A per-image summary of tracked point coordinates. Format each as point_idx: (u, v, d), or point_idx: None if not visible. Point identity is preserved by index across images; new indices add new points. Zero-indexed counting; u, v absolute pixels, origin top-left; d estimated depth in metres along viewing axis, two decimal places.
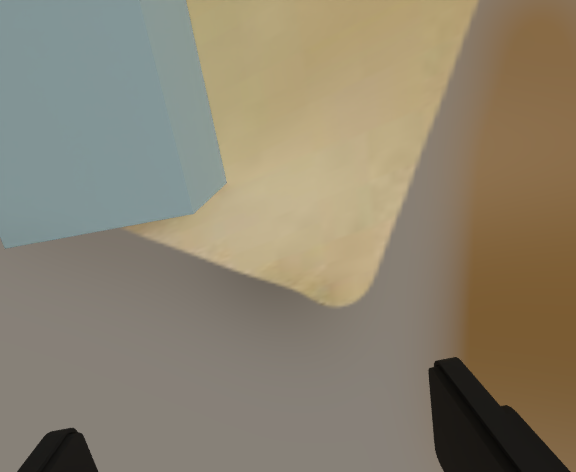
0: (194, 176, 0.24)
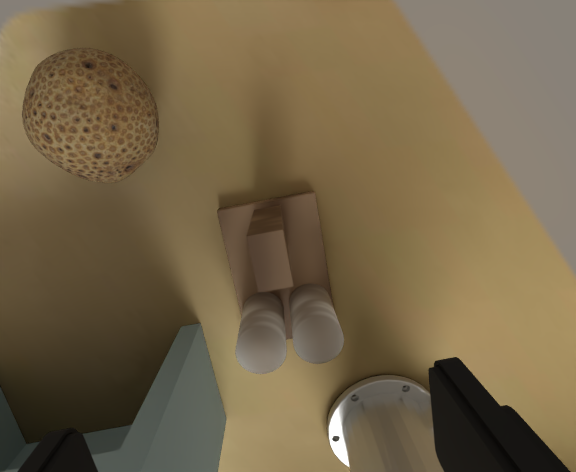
0: None
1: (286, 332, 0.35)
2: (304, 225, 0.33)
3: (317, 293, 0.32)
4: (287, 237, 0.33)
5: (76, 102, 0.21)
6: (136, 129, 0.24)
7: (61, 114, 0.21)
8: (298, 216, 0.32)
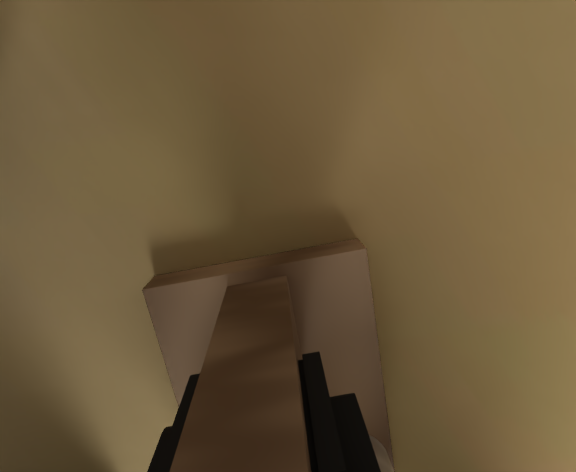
0: None
1: None
2: (340, 318, 0.15)
3: None
4: (302, 343, 0.15)
5: None
6: None
7: None
8: (327, 298, 0.14)
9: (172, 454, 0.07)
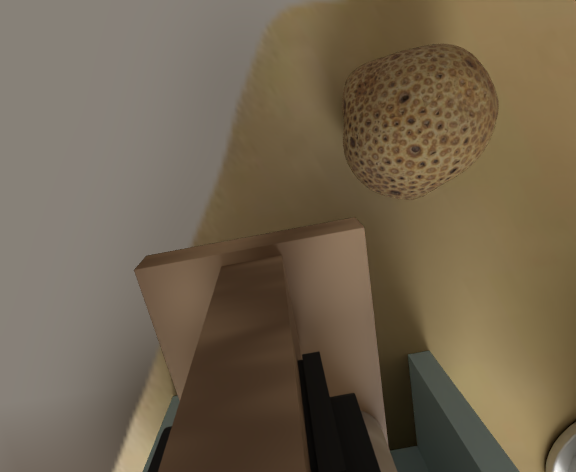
0: None
1: None
2: (336, 297, 0.14)
3: None
4: (298, 322, 0.15)
5: (465, 107, 0.18)
6: (489, 139, 0.20)
7: (450, 123, 0.18)
8: (323, 278, 0.14)
9: None
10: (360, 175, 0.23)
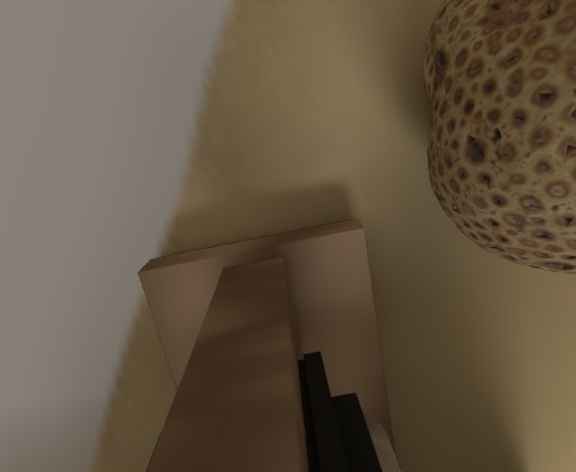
0: None
1: None
2: (338, 299, 0.14)
3: None
4: (300, 324, 0.15)
5: None
6: None
7: None
8: (324, 279, 0.14)
9: None
10: (475, 224, 0.10)
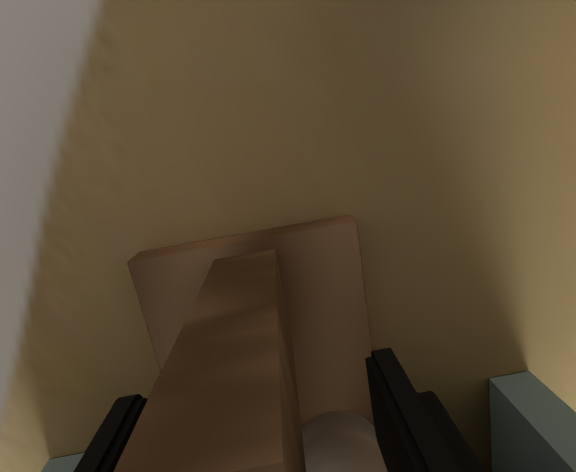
0: None
1: None
2: (329, 293, 0.14)
3: (361, 454, 0.14)
4: (291, 319, 0.15)
5: None
6: None
7: None
8: (316, 273, 0.14)
9: None
10: None
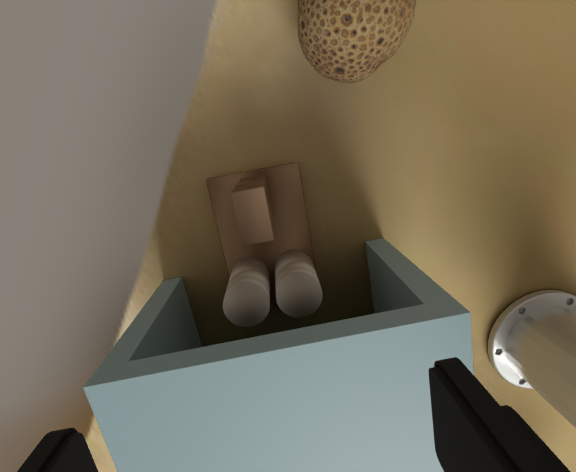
0: None
1: (272, 296, 0.38)
2: (288, 193, 0.35)
3: (300, 256, 0.34)
4: (272, 205, 0.35)
5: None
6: (410, 19, 0.26)
7: None
8: (282, 185, 0.35)
9: None
10: (311, 57, 0.28)
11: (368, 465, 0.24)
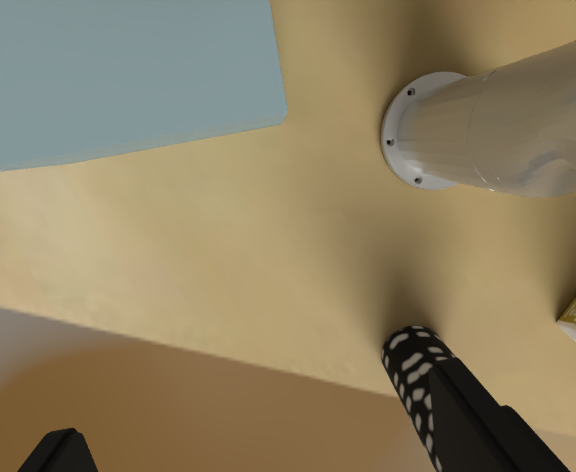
0: None
1: None
2: None
3: None
4: None
5: None
6: None
7: None
8: None
9: None
10: None
11: (164, 104, 0.22)
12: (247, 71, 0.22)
